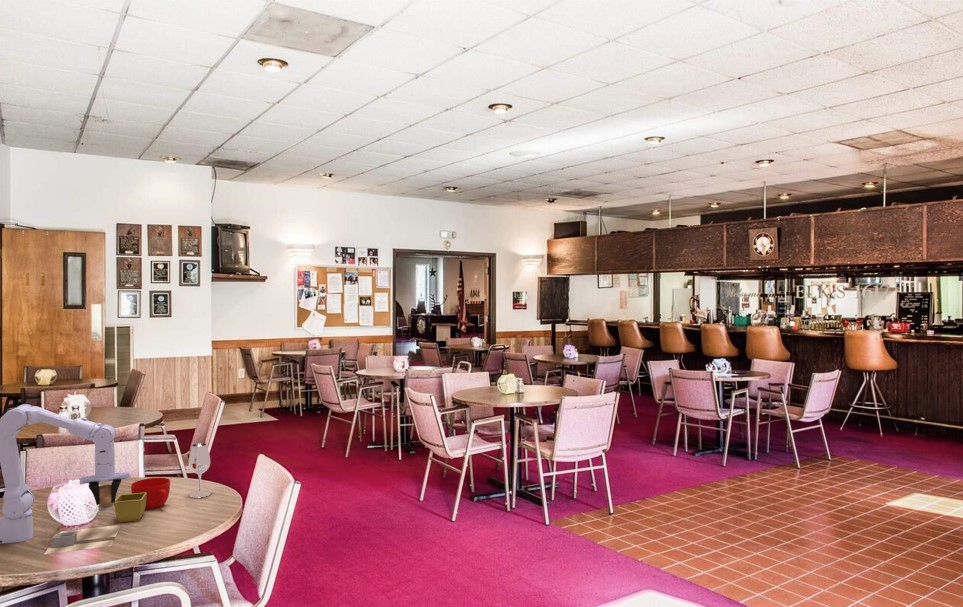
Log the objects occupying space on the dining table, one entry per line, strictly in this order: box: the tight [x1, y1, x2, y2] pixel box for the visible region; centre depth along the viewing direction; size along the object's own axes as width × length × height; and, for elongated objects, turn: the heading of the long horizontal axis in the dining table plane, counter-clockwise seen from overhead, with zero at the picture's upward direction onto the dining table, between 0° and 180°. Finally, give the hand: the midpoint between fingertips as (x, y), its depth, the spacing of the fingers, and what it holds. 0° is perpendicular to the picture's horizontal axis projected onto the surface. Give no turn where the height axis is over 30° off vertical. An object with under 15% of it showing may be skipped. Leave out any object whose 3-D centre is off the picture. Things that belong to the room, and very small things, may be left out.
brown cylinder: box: [97, 484, 115, 512], centre depth 223 cm, size 4×4×8 cm
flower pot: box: [113, 492, 147, 523], centre depth 234 cm, size 9×9×9 cm
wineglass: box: [188, 442, 211, 499], centre depth 263 cm, size 8×8×20 cm
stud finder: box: [51, 531, 77, 548], centre depth 210 cm, size 6×4×3 cm, turn 110°
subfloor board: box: [43, 524, 122, 555], centre depth 215 cm, size 18×20×2 cm
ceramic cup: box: [130, 477, 171, 510], centre depth 246 cm, size 13×17×10 cm
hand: (105, 502), depth 223 cm, fingers closed on brown cylinder, 4 cm apart
